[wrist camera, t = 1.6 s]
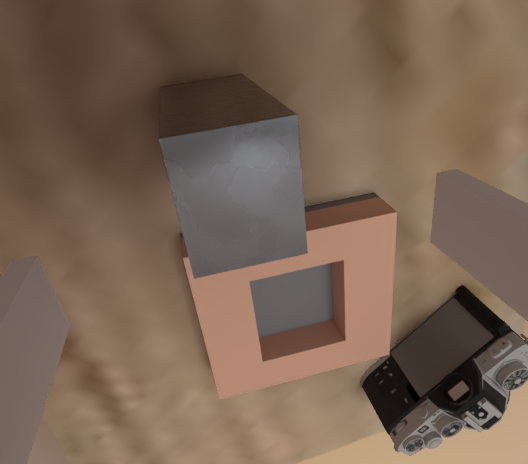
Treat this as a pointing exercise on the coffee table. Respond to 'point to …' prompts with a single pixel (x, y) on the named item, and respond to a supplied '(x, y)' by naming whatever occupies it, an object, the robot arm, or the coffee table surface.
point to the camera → (447, 375)
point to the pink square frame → (303, 301)
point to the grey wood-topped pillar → (233, 173)
